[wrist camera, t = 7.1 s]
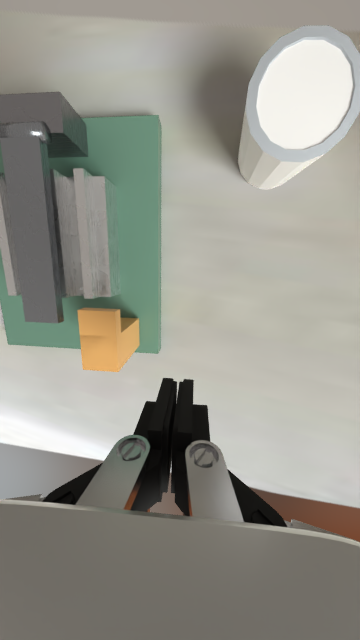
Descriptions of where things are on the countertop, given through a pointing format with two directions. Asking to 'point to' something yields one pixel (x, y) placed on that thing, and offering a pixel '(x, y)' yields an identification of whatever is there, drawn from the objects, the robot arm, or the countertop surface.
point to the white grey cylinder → (298, 104)
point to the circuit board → (133, 234)
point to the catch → (106, 338)
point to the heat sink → (67, 204)
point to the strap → (32, 218)
